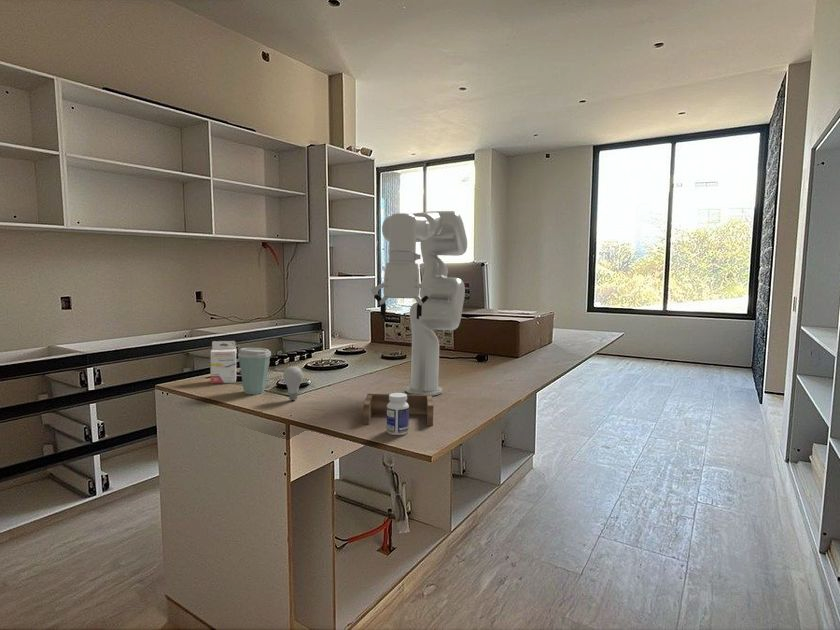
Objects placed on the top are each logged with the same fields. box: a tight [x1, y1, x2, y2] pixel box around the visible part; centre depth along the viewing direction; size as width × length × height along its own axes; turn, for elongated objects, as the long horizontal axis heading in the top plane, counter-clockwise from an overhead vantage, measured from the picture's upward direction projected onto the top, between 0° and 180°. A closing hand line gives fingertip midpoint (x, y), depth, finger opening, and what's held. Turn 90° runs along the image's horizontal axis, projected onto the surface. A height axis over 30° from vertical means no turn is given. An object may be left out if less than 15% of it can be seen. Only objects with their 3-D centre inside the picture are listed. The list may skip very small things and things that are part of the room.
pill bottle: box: [386, 392, 410, 436], centre depth 124 cm, size 6×6×10 cm
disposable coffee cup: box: [237, 347, 272, 395], centre depth 159 cm, size 11×11×15 cm
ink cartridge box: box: [210, 340, 237, 385], centre depth 173 cm, size 9×5×15 cm, turn 108°
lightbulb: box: [282, 365, 304, 401], centre depth 151 cm, size 6×6×11 cm
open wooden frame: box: [362, 393, 434, 426], centre depth 135 cm, size 12×19×6 cm, turn 91°
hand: (401, 318), depth 136 cm, fingers open, 9 cm apart
